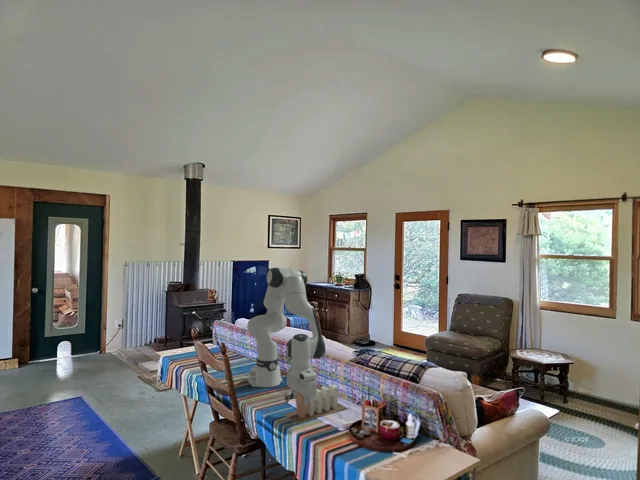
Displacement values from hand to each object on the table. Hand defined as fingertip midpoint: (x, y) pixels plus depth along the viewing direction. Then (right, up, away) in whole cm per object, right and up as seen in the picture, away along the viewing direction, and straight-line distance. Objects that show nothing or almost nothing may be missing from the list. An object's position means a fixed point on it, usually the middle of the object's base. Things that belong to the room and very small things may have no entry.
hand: (300, 401), depth 193 cm
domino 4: (+11, -7, +8) cm, 15 cm away
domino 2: (+4, -7, +2) cm, 8 cm away
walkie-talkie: (-4, -8, +26) cm, 27 cm away
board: (+7, -8, +5) cm, 12 cm away
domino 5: (+15, -7, +10) cm, 19 cm away
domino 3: (+7, -7, +5) cm, 11 cm away
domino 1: (0, -7, 0) cm, 7 cm away
